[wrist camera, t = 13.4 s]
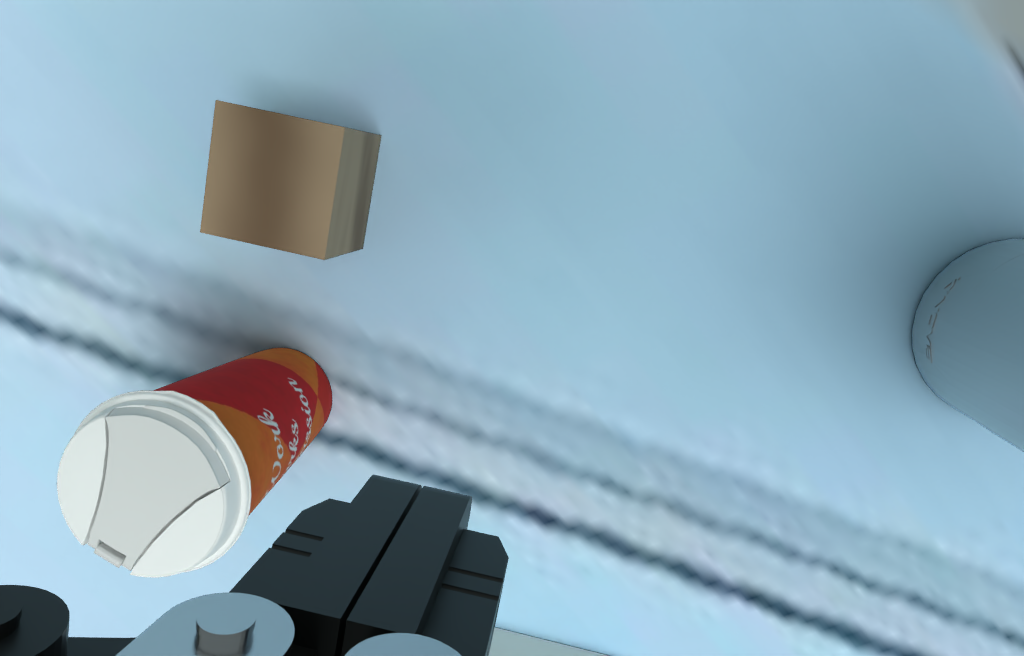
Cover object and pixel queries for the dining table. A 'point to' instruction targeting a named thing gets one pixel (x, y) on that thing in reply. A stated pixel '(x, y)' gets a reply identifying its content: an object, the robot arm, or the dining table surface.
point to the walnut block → (288, 182)
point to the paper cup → (189, 460)
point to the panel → (531, 646)
